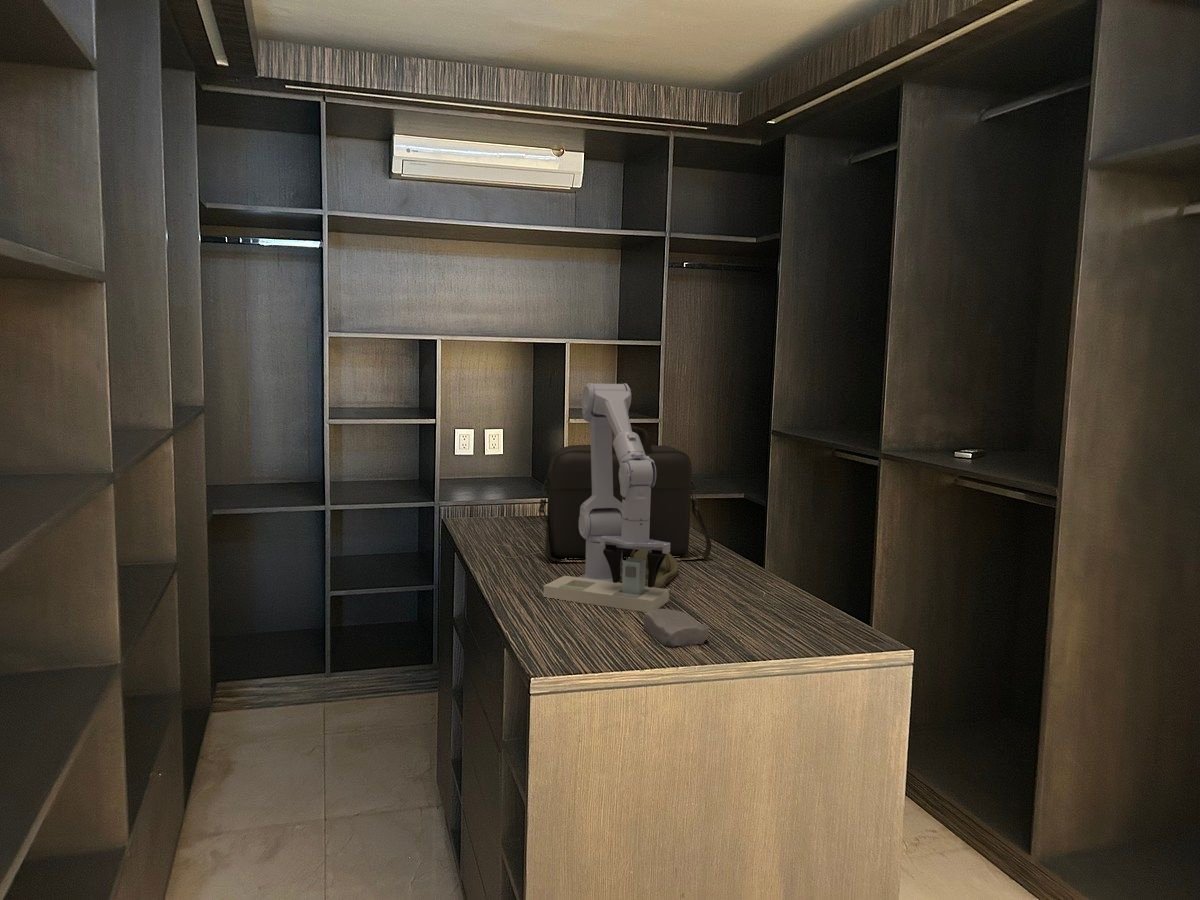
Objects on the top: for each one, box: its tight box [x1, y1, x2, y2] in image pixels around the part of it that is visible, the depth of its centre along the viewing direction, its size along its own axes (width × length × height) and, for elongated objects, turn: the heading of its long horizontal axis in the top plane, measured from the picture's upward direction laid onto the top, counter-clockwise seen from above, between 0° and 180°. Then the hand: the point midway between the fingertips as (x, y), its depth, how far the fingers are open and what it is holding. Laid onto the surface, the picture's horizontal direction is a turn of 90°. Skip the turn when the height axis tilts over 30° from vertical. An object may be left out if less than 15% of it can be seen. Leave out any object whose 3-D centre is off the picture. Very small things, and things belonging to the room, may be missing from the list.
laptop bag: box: [537, 425, 712, 563], centre depth 232 cm, size 43×13×33 cm, turn 101°
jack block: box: [543, 575, 670, 613], centre depth 193 cm, size 10×24×3 cm, turn 67°
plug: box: [622, 558, 646, 595], centre depth 190 cm, size 4×4×9 cm
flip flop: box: [620, 549, 679, 589], centre depth 211 cm, size 29×12×8 cm, turn 166°
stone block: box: [642, 608, 710, 648], centre depth 170 cm, size 12×5×10 cm
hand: (633, 584), depth 191 cm, fingers open, 7 cm apart
